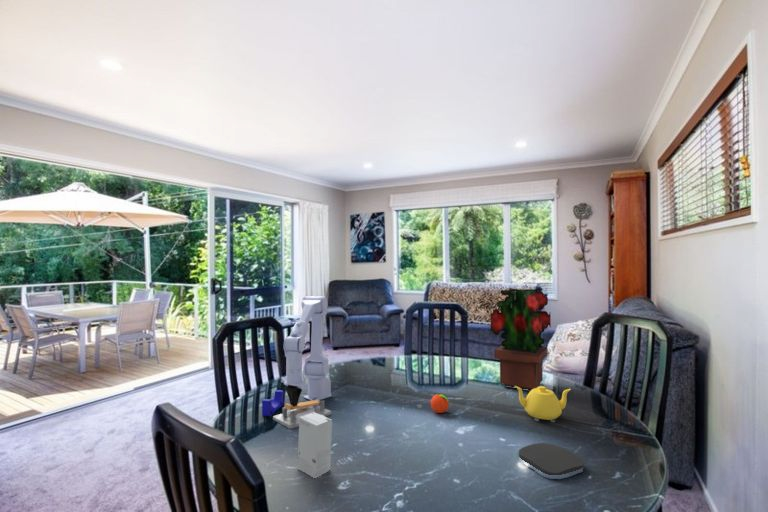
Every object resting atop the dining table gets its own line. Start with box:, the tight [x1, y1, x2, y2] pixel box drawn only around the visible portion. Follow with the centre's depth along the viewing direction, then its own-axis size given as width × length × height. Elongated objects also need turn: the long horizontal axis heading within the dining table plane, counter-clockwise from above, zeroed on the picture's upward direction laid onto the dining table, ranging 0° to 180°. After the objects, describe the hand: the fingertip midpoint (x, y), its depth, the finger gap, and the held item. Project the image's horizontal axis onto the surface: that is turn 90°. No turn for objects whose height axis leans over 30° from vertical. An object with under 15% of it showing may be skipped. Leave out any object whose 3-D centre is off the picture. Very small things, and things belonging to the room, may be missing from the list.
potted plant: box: [489, 288, 552, 390], centre depth 181 cm, size 22×22×45 cm
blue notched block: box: [261, 389, 284, 417], centre depth 154 cm, size 12×4×6 cm, turn 169°
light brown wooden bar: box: [284, 399, 321, 410], centre depth 147 cm, size 15×4×2 cm, turn 136°
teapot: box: [515, 385, 572, 421], centre depth 145 cm, size 20×15×12 cm
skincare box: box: [296, 412, 333, 479], centre depth 109 cm, size 8×6×15 cm
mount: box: [272, 397, 332, 430], centre depth 146 cm, size 18×12×5 cm, turn 136°
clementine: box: [430, 393, 450, 414], centre depth 150 cm, size 8×7×7 cm
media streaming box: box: [518, 442, 585, 475], centre depth 112 cm, size 15×15×3 cm
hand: (294, 405), depth 144 cm, fingers closed, pressing on light brown wooden bar
